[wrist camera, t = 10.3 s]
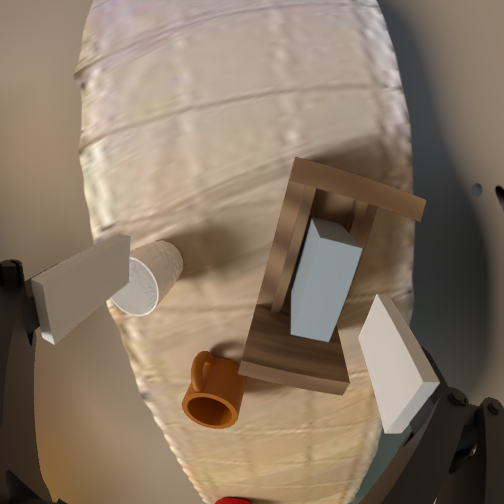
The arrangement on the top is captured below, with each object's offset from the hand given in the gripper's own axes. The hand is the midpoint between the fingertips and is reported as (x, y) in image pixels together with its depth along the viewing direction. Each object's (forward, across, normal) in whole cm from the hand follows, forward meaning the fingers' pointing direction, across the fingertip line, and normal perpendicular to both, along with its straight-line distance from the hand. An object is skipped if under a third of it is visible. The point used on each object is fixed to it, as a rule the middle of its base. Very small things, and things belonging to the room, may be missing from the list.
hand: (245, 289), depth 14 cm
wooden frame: (+24, +7, -4) cm, 25 cm away
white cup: (+24, -14, -11) cm, 30 cm away
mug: (+24, -3, -28) cm, 37 cm away
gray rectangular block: (+23, +7, -4) cm, 24 cm away
